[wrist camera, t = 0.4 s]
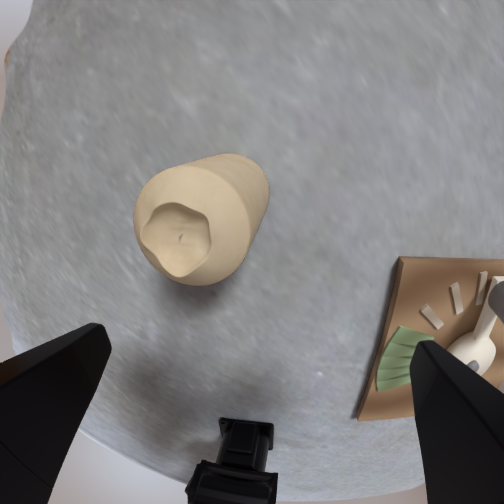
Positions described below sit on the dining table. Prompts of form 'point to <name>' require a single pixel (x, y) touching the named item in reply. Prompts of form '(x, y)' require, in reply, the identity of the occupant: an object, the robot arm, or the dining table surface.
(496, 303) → the needle
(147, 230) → the candle
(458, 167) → the dining table surface
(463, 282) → the dial board
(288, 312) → the dining table surface
